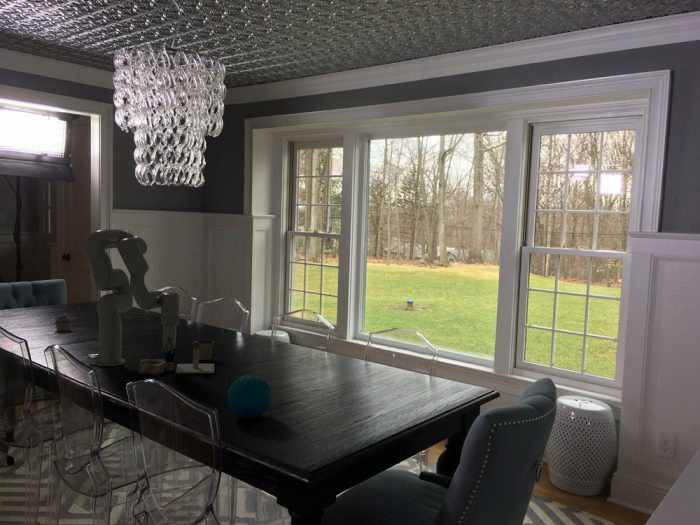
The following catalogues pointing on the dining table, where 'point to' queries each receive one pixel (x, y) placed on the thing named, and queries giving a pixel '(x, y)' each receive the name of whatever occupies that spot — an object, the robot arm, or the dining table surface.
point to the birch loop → (153, 365)
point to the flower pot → (205, 349)
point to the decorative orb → (249, 396)
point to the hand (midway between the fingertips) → (170, 359)
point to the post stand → (195, 363)
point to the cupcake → (63, 323)
